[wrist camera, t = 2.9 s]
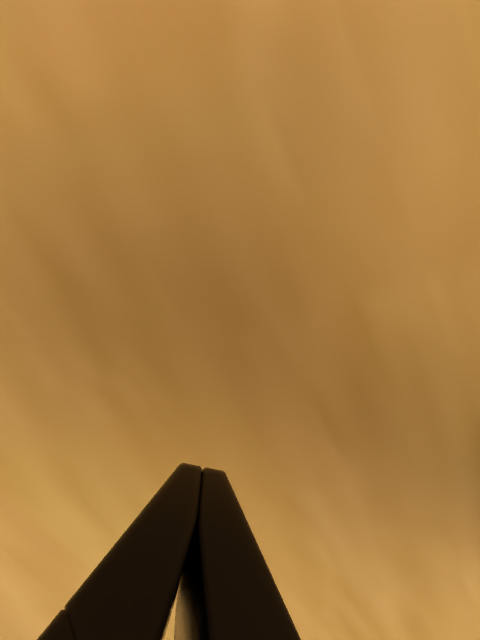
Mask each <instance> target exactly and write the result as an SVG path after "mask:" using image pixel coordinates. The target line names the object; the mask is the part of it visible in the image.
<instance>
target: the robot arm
mask: <svg viewBox="0 0 480 640" xmlns="http://www.w3.org/2000/svg"><path fill="white" fill-rule="evenodd" d="M177 591H178V594H177ZM176 594H177V604H176V616H175V631H174V640H301V639H300V637H299V635H298V632H297V630H296V628H295V626H294V624H293V621H292V619H291V617H290V615H289V613H288V610H287V608H286V606H285V604H284V602H283V599H282V597H281V595H280V593H279V590H278V588H277V586H276V584H275V582H274V579H273V577H272V575H271V573H270V571H269V568H268V566H267V564H266V562H265V560H264V557H263V555H262V553H261V551H260V549H259V546H258V544H257V542H256V540H255V538H254V535H253V533H252V531H251V529H250V527H249V524H248V522H247V520H246V518H245V515H244V513H243V511H242V509H241V507H240V504H239V502H238V500H237V498H236V496H235V493H234V491H233V489H232V487H231V485H230V482H229V480H228V478H227V476H226V474H225V472H224V471H221V470H216V469H211V468H204V469H203V470H202V468H201V467H200V466H196V465H191V464H186V463H182V464H180V465H179V466H178V467H177V468H176V470H175V471H174V472H173V473H172V475H171V476H170V477H169V478H168V479H167V481H166V482H165V483H164V484H163V486H162V487H161V488H160V489H159V491H158V492H157V493H156V494H155V495H154V497H153V498H152V499H151V500H150V502H149V503H148V504H147V505H146V507H145V508H144V509H143V510H142V511H141V513H140V514H139V515H138V516H137V518H136V519H135V520H134V521H133V523H132V524H131V525H130V526H129V527H128V529H127V530H126V531H125V532H124V534H123V535H122V536H121V537H120V539H119V540H118V541H117V542H116V543H115V545H114V546H113V547H112V548H111V550H110V551H109V552H108V553H107V555H106V556H105V557H104V558H103V559H102V561H101V562H100V563H99V564H98V566H97V567H96V568H95V569H94V571H93V572H92V573H91V574H90V576H89V577H88V578H87V579H86V580H85V582H84V583H83V584H82V585H81V587H80V588H79V589H78V590H77V592H76V593H75V594H74V595H73V596H72V598H71V599H70V600H69V601H68V603H67V604H66V605H65V609H64V610H61V611H60V612H59V613H58V614H57V616H56V617H55V618H54V619H53V621H52V622H51V623H50V624H49V626H48V627H47V628H46V629H45V630H44V632H43V633H42V634H41V635H40V636H39V638H38V639H37V640H164V636H165V633H166V629H167V626H168V623H169V619H170V616H171V612H172V609H173V605H174V602H175V598H176Z"/></svg>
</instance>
